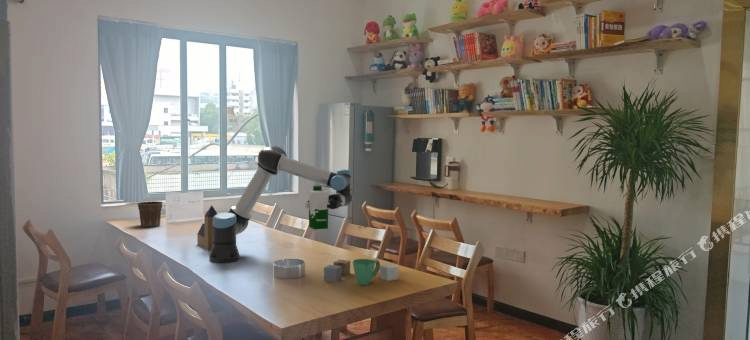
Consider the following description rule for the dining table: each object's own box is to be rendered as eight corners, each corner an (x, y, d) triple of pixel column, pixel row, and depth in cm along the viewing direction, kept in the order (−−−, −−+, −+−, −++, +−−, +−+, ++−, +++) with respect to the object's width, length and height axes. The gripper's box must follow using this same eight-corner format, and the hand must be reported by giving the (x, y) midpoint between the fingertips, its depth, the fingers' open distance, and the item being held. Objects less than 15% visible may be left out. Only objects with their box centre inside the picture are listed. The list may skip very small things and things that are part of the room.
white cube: (379, 278, 250) (380, 265, 249) (390, 276, 253) (390, 263, 252) (387, 281, 245) (387, 268, 244) (397, 279, 248) (398, 266, 247)
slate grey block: (323, 280, 243) (324, 267, 243) (329, 277, 249) (329, 264, 248) (335, 282, 241) (336, 269, 240) (341, 278, 246) (341, 266, 246)
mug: (363, 288, 232) (364, 265, 232) (347, 283, 239) (348, 261, 238) (386, 281, 243) (386, 259, 242) (370, 277, 250) (370, 256, 249)
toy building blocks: (208, 250, 298) (208, 205, 296) (197, 244, 313) (197, 202, 311) (229, 248, 305) (230, 204, 303) (218, 242, 320) (218, 200, 319)
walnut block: (333, 274, 254) (333, 262, 253) (338, 271, 259) (338, 259, 259) (344, 276, 251) (345, 263, 251) (350, 273, 257) (350, 260, 257)
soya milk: (323, 225, 264) (324, 185, 263) (330, 228, 256) (331, 187, 255) (306, 226, 260) (307, 185, 259) (313, 230, 252) (313, 187, 251)
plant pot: (132, 227, 363) (132, 203, 362) (146, 223, 379) (146, 200, 377) (154, 228, 360) (154, 204, 359) (167, 224, 376) (167, 201, 375)
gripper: (354, 209, 271) (334, 215, 250) (316, 206, 278) (294, 212, 257) (354, 195, 270) (334, 199, 249) (316, 192, 278) (294, 196, 257)
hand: (314, 206), depth 253 cm, fingers closed on soya milk, 8 cm apart
